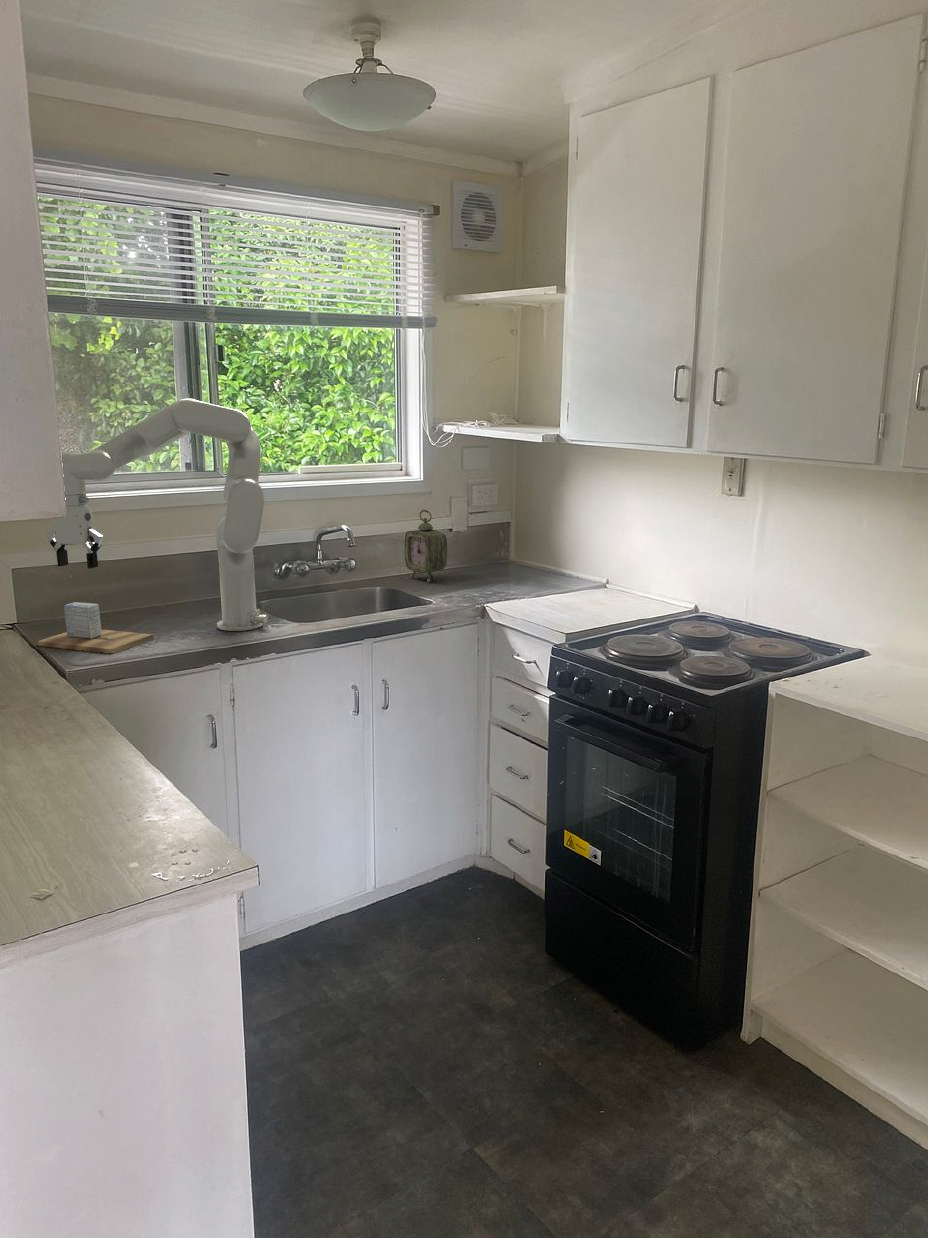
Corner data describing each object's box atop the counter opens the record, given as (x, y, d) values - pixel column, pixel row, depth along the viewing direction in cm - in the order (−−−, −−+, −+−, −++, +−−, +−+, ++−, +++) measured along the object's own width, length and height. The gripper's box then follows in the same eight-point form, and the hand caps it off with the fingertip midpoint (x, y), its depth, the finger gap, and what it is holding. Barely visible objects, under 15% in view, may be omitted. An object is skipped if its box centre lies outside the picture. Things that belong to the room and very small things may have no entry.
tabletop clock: (404, 578, 332) (403, 508, 327) (425, 575, 338) (424, 507, 332) (428, 584, 321) (427, 512, 315) (449, 581, 327) (448, 510, 321)
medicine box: (102, 635, 247) (99, 603, 245) (90, 639, 243) (87, 607, 241) (78, 633, 250) (75, 601, 248) (66, 637, 245) (63, 605, 243)
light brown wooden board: (153, 638, 249) (153, 634, 248) (112, 653, 234) (112, 649, 234) (81, 631, 257) (81, 627, 256) (37, 645, 242) (37, 640, 242)
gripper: (108, 500, 239) (114, 566, 243) (55, 498, 244) (62, 562, 248) (87, 503, 232) (94, 571, 236) (33, 501, 237) (41, 567, 241)
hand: (78, 566), depth 242 cm, fingers open, 9 cm apart
